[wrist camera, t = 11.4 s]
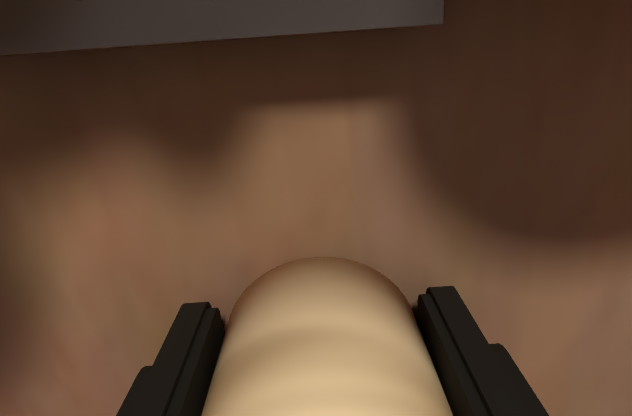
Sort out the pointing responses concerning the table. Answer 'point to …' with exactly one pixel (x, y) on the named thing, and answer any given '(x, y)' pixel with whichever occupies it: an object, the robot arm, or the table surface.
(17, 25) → the balance
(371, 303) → the beige cylinder
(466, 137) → the table surface
